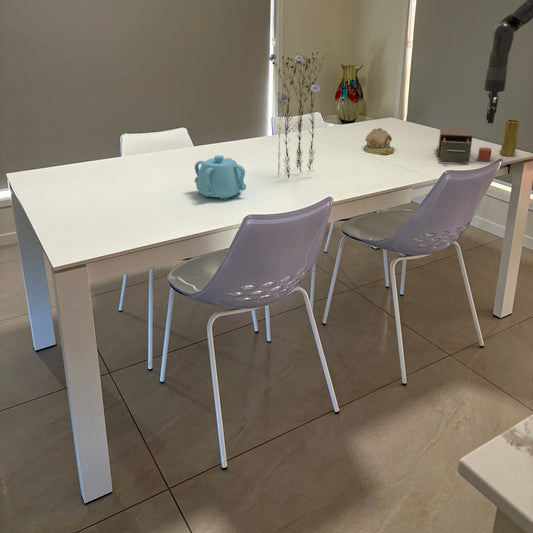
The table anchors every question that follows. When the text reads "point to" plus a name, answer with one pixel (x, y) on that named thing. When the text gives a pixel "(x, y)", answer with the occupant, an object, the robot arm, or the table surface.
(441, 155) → the drawer
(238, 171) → the decorative pot
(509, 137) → the vase
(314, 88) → the wildflower
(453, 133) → the cabinet
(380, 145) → the ceramic model
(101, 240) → the table surface
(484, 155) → the block
